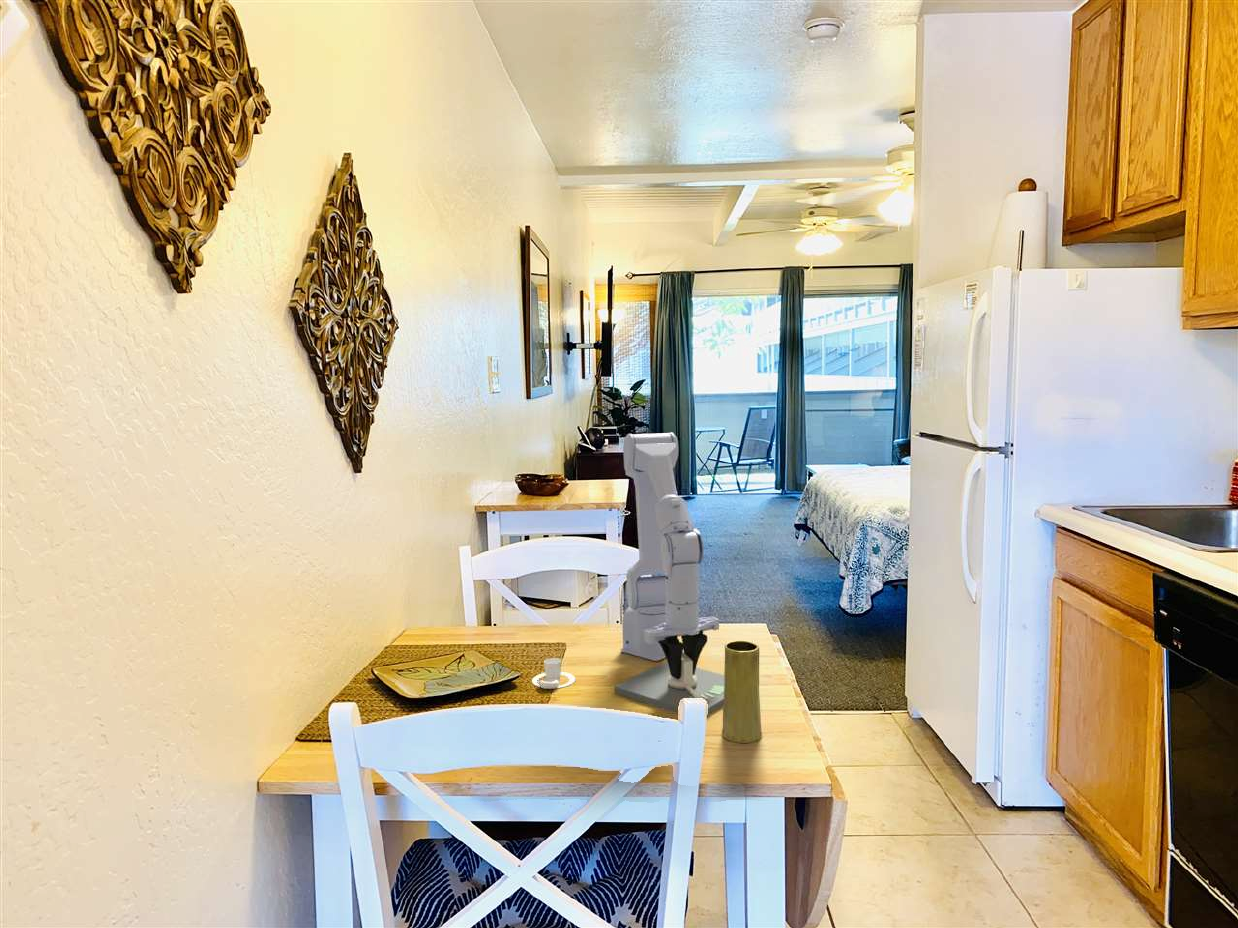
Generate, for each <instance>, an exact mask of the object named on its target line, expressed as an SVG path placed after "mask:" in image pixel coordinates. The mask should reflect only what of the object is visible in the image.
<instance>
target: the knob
mask: <svg viewBox="0 0 1238 928" xmlns="http://www.w3.org/2000/svg"><path fill="white" fill-rule="evenodd" d="M668 683H669V685H670V686H671V687H673V688H677V689H687V690H688V691H689V692H690V693H691V694H692V695H693V697H694V698H701V697H700V696H699V695H698V694H697V693H696V692H695V691H694V690H693V689H692V688H693V687H695V686H696V685H697V677H696V676H695V675H693V661H692V660H691V659H690V658H689V657H688V656H687V655H686V654H685V653H684V651H683V652H682V658H681V677H680V679H676V678H674V677H672V676H671V675H670V676H669V677H668Z"/></svg>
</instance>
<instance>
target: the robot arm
mask: <svg viewBox="0 0 1238 928" xmlns="http://www.w3.org/2000/svg"><path fill="white" fill-rule="evenodd" d="M622 448H623V449H622V451H623V468H624V471H625V476H628V477H630V478H632V480H633V483H634V487H635V505H636V506H635V509H636V519H637V520H636V523H637V539H638V554H639V555H638V558H639V559H638V560H637V562H635V563H634V564H633V565H632V566H631V567H629V568H628V570H627V571H626V572H627V573H626V583H625V598H626V602H627V605H628V607H627V608H626V609H625V611H624V613H623V616H622V622H621V623H622V647H621V648H620V649H619V651H620V652H621V653H622V652H623V653H625V654H629V655H632V656H637V657H639V658H643V659H646V660H650V661H653V662H659V661H661V660H662V659H666V661H667V662H668V665H669V669H670V673H671V676H672V677H674V678H676V679H680V677H681V658H682V652H684V653H685V654H686V655H687V656H688V657H689V658H690V659H691V660H692V661H693V675H694V674H695V670H696V668H697V665H698V661H699V658H700V655H701V654H702V651H703V649H704V647H705V646H706V645H707V642H708V635H706V634H705V633H704V632H706V631H711V630H713V631H718V630H720V619H719V618H717V617H715V616H713V615H712V616H708V617H705V616H704V617H699V614H700V613H699V611H700V610H699V565H700V564H702V562H703V559H704V542H703V538H702V534H701V532H700V531H699V529H697V527H696V526H695V525H693V522H692V521H691V517H690V513H689V510H688V506H687V503H686V500H685V499H684V498H682V497H681V496H678V491H677V486H676V480H675V473H674V468H675V467H676V463H677V461H678V458H679V440H678V438H677V436H676V435H675V433H674V432H672V431H669V432H663V433H661V432H660V433H636V434H635V433H633V434H632V433H628V434H626V436H625V437H624V440H623V447H622ZM650 575H651V576H650ZM652 575H654V576H652ZM679 637H681V641H680V639H679Z"/></svg>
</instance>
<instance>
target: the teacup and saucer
mask: <svg viewBox="0 0 1238 928" xmlns="http://www.w3.org/2000/svg"><path fill="white" fill-rule="evenodd" d="M543 664H544V665H543V666H544V672H542V673H539V674H536V675H535V676H534V677H533V678H532V679H531V683H532V685H534V686H535V687H538V688H540V687H541V688H540V689H545V690H551V689H552V690H553V689H554V690H556V689H562V688H566V687H568V686H571V685H573V683H575V682H576V677H575V676H574V675H573V674H571V673H570V672H566V671H562V660H561V659H560V658H558V657H549V658H546V659H545V660H544V661H543ZM561 676H565V678H568V681H567V682H565V683H564V684H561V685H560V678H561ZM543 677H545V678H544V679H541V678H543ZM539 678H540V679H539ZM537 680H538V681H537ZM537 682H538V683H539V684H538V683H537Z"/></svg>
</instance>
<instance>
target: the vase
mask: <svg viewBox="0 0 1238 928" xmlns="http://www.w3.org/2000/svg"><path fill="white" fill-rule="evenodd" d="M723 673H724V674H723V675H724V703H723V706H722V729H721V734H722V736H723V737H724V738H725V739H726V740H728V741H730V742H733V743H736V744H737V743H738V744H751V743H755V742H756V741H759V740H760V739H761V738H762V721H761V720H762V719H761V699H760V647H759V645H758V644H757V643H756V642H754V641H749V640H744V639H743V640H742V639H741V640H739V639H738V640H731V641H728V642H726V643H725V644H724V672H723Z"/></svg>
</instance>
